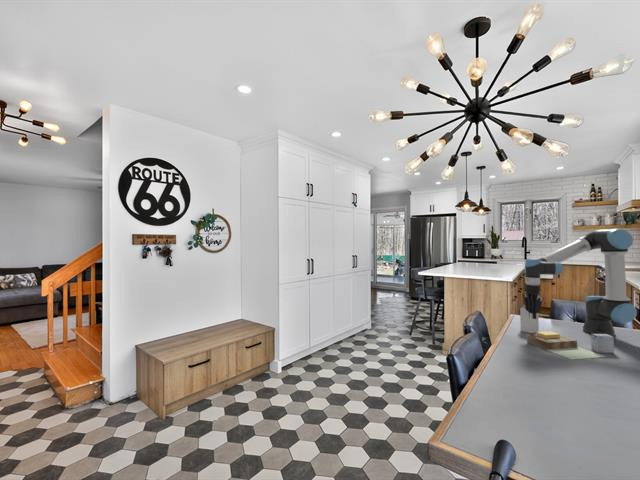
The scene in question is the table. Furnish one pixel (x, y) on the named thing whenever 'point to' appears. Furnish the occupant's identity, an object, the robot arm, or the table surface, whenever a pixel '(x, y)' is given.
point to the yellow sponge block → (548, 334)
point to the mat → (576, 353)
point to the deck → (552, 342)
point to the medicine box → (602, 343)
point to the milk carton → (528, 321)
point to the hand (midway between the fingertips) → (532, 323)
